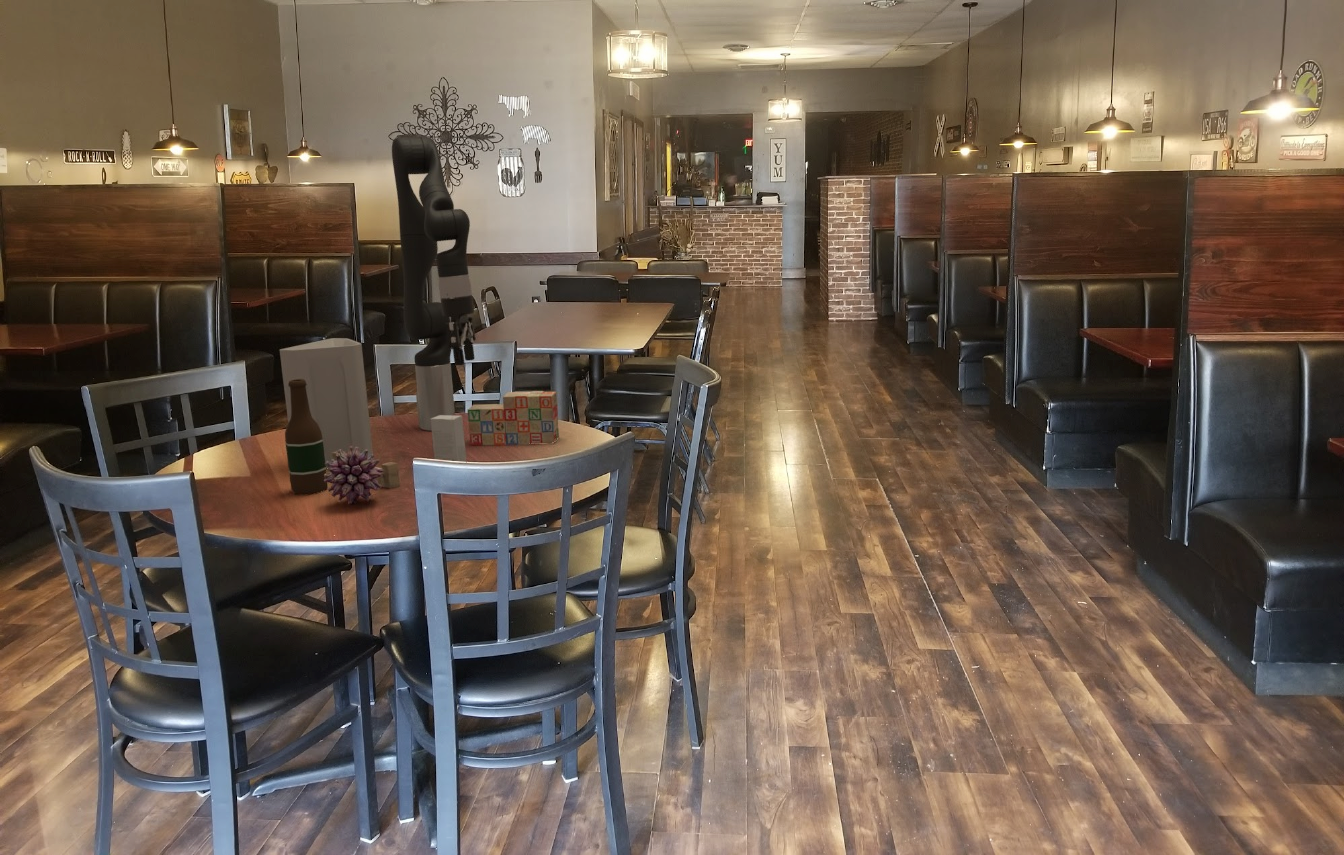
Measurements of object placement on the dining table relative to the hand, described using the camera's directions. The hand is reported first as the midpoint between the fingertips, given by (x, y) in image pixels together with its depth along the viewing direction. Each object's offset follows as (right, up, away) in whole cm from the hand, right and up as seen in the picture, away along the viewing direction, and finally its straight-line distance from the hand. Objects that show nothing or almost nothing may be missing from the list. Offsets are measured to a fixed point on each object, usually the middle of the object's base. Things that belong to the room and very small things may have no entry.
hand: (465, 362), depth 264 cm
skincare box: (0, -25, -15) cm, 29 cm away
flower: (-14, -31, -40) cm, 53 cm away
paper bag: (-28, -24, -4) cm, 37 cm away
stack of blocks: (+11, -20, +9) cm, 24 cm away
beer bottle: (-28, -29, -29) cm, 49 cm away
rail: (-18, -27, -22) cm, 39 cm away
